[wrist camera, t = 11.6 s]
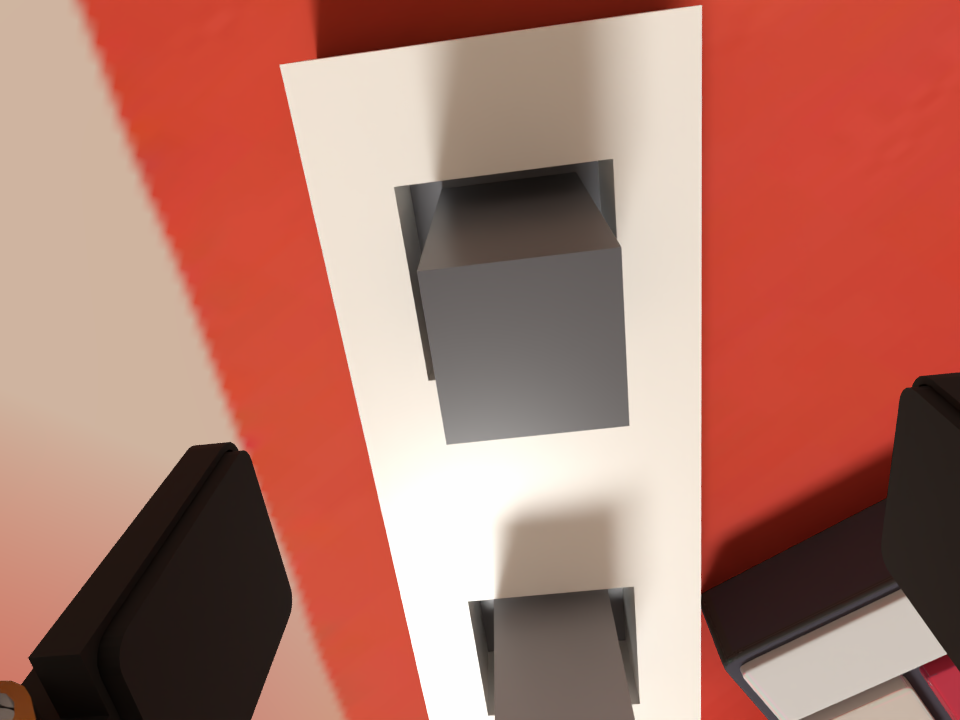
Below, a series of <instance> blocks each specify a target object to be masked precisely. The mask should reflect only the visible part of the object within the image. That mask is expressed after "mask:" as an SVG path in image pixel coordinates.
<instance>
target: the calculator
mask: <svg viewBox="0 0 960 720" xmlns="http://www.w3.org/2000/svg"><path fill="white" fill-rule="evenodd" d="M886 501H887V498H886V499H884V500H882V501H880V502H878V503H876V504H874V505H872V506H870V507H868V508H867V509H865V510H863V511H861V512H859V513H857V514H855V515H853V516H851V517H849V518H847V519H845V520H843V521H841V522H839V523H837V524H836V525H834V526H832V527H830V528H828V529H826V530H824V531H822V532H820V533H818V534H816V535H814V536H812V537H810V538H808V539H806V540H805V541H803V542H801V543H799V544H797V545H795V546H793V547H791V548H789V549H787V550H785V551H783V552H781V553H779V554H777V555H775V556H774V557H772V558H770V559H768V560H766V561H764V562H762V563H760V564H758V565H756V566H754V567H752V568H750V569H748V570H746V571H744V572H743V573H741V574H739V575H737V576H735V577H733V578H731V579H729V580H727V581H725V582H723V583H721V584H719V585H717V586H715V587H713V588H712V589H710V590H708V591H706V592H704V593H703V594H702V595H701V609H702V612H703V614H704V617H705V620H706V622H707V625H708V628H709V630H710V633H711V635H712V638H713V641H714V643H715V646H716V648H717V651H718V654H719V656H720V659H721V661H722V664H723V666H724V668H725V670H726V671H727V672H728V674H729V675H730V676H731V677H732V678H733V679H734V681H735V682H736V683H737V684H738V685H739V686H740V688H741V689H742V690H743V691H744V692H745V693H746V694H747V696H748V697H749V698H750V699H751V700H752V701H753V702H754V704H755V705H756V706H757V707H758V708H759V709H760V711H761V712H762V713H763V714H764V715H765V716H766V717H767V719H768V720H960V672H959V670H958V669H957V667H956V666H955V665H954V663H953V662H952V660H951V659H950V657H949V656H948V655H947V653H946V652H945V650H944V649H943V648H942V646H941V645H940V643H939V642H938V641H937V639H936V638H935V636H934V635H933V633H932V632H931V631H930V629H929V628H928V626H927V625H926V624H925V622H924V621H923V619H922V618H921V617H920V615H919V614H918V612H917V611H916V609H915V608H914V607H913V605H912V604H911V602H910V601H909V600H908V598H907V597H906V595H905V594H904V593H903V591H902V590H901V588H900V587H899V585H898V584H897V583H896V581H895V580H894V578H893V577H892V576H891V574H890V573H889V571H888V569H887V568H886V566H885V563H884V560H883V556H882V551H881V540H882V532H883V525H884V517H885V509H886Z"/></svg>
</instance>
